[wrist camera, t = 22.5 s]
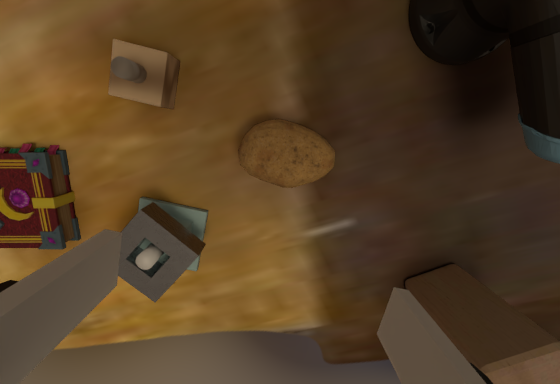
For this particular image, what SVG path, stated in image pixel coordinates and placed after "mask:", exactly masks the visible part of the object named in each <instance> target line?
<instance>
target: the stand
mask: <svg viewBox="0 0 560 384" xmlns="http://www.w3.org/2000/svg"><path fill="white" fill-rule="evenodd" d="M179 67H180V61H179V60H177V59H176V58H174V57H173V56H172V55H170V54H169V53H167V52H163V51H159V50H155V49H151V48H148V47H144V46H140V45H136V44H132V43H128V42H124V41H120V40H116V39H113V46H112V58H111V70H110V81H109V93H108V94H109V95H113V96H117V97H121V98H125V99H130V100H134V101H138V102H142V103H146V104H151V105H155V106H159V107H164V108H169V109H174V103H175V96H176V89H177V81H178V74H179Z"/></svg>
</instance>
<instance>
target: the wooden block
mask: <svg viewBox="0 0 560 384" xmlns="http://www.w3.org/2000/svg"><path fill="white" fill-rule="evenodd" d="M405 287H406V290H409V291H410V292H411V294H412V295H413V296H414V297H415V298H416V300H417V301H418V302H419V303H420V304H421V306H422V307H423V308H424V309H425V310H426V312H427V313H428V314H429V315H430V316H431V318H432V319H433V320H434V321H435V322H436V324H437V325H438V326H439V327H440V328H441V330H442V331H443V332H444V333H445V334H446V336H447V337H448V338H449V339H450V340H451V342H452V343H453V344H454V345H455V346H456V348H457V349H458V350H459V351H460V353H461V354H462V355H463V356H464V357H465V359H466V360H467V361H468V362H469V363H472V364H473V365H474V366H476V367H477V368H478V369H479V370H480V371H482V372H483V373H484V374H485V375H486V376H487V377H488V378H489V379H490V380H491V381H492V383H493V384H560V341H558V340H557V339H556V338H554V337H553V336H551V335H550V334H549V333H547V332H546V331H545V330H543V329H542V328H541V327H539V326H538V325H537V324H535V323H534V322H533V321H531V320H530V319H529V318H527V317H526V316H525V315H523V314H522V313H521V312H519V311H518V310H517V309H515V308H514V307H513V306H511V305H510V304H509V303H507V302H506V301H505V300H503V299H502V298H501V297H499V296H498V295H497V294H495V293H494V292H492V291H491V290H490V289H488V288H487V287H486V286H484V285H483V284H482V283H480V282H479V281H478V280H476V279H475V278H474V277H472V276H471V275H470V274H468V273H467V272H466V271H464V270H463V269H462V268H460V267H459V266H458V265H455V264H450V265H447V266H444V267H441V268H438V269H435V270H432V271H429V272H427V273H424V274H421V275H418V276H415V277H412V278H409V279H407V280H406V281H405Z"/></svg>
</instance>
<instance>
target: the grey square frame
mask: <svg viewBox="0 0 560 384" xmlns="http://www.w3.org/2000/svg"><path fill="white" fill-rule="evenodd" d="M121 233H122V240H121V249H120V258H119V268H118V276H119V277H121V278H122V279H124V280H125V281H126V282H128V283H129V284H130V285H132V286H133V287H135V288H136V289H137V290H139V291H140V292H141V293H143V294H144V295H146V296H147V297H148V298H150V299H151V300H152V301H154V302H156V301H157V300H158V299H159V298H160V297H161V296H162V295H163V294H164V293H165V292H166V290H167V289H168V288H169V287H170V286H171V285H172V284H173V283H174V282H175V281H176V280H177V279H178V278H179V277H180V276H181V274H182V273H183V272H184V271H185V270H186V269H187V268H188V267H189V266H190V265H191V264H192V263H193V262H194V261H195V260H196V259H197V257H198V256H199V255H200V253H201V252H202V250H203V248H204V246H205V245H206V244H205V243H204V242H203V241H201V240H200V239H199V238H198V237H196V236H195V235H194V234H193V233H191V232H190V231H189V230H188V229H187V228H185V227H184V226H183V225H182V224H180V223H179V222H178V221H177V220H175V219H174V218H173V217H172V216H170V215H169V214H168V213H167V212H165V211H164V210H163V209H162V208H160V207H159V206H158V205H157V204H156V203H154V202H152V203H150V204H149V205H147V206H146V207H144V208H142V209H141V210H140V211H139V212H138V213H137V214H136V215H135V217H134V218H133V219H132V220H131V221H130V222H129V224H128V225H127V226H126V227H125V228H124V229H123V231H122V232H121ZM146 239H148V240H149V241H150V242H152V243H153V244H154V245H155V246H157V247H158V248H159V249H161V250H162V251H163V252H165V253H166V254H167V255H168V256H170V257H169V258H168V259H167V260H166V261H165V262H164V263H163V264H161V263H160V262H159V261H157V262H156V263H155V264H154V265H153V266H152V267H151V268H150V269H147V270H144V269H141V268H139V267H138V266H137V264H136V257H137V256H138V255H139V254H140V253H141V252H142V251H143V249H142V248H140V246H141V244H142V243H143V242H144V241H145V240H146Z"/></svg>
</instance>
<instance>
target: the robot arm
mask: <svg viewBox="0 0 560 384" xmlns="http://www.w3.org/2000/svg"><path fill="white" fill-rule="evenodd" d="M409 22H410V28H411V32H412V35H413V37H414V39H415V41H416V43H417V45H418V46H419V48H420V49H421V50H422V51H423V52H424V53H425V54H426V55H427V56H428V57H430V58H431V59H433V60H435V61H437V62H440V63H443V64H450V65H457V64H463V63H467V62H470V61H473V60H476V59H479V58H481V57H483V56H485V55H487V54H489V53H491V52H492V51H494V50H495V49H497V48H498V47H499V46H500V45H501V44H502V43H503V42H505V40H506V39H508V38H510V45H511V54H512V62H513V69H514V76H515V83H516V90H517V98H518V105H519V112H520V113H519V114H518V120H519V123H520V124H521V126H522V129H523V134H524V139H525V143H526V145H527V147H528V149H529V150H531V151H532V152H533V153H534V154H535V155H537V156H538V157H541V158H543V159H545V160H548V161H552V162H555V163H560V0H411V1H410V7H409ZM121 240H122V233H121V232H116V231H111V230H106V229H105V230H103V231H101V232H100V233H98V234H96V235H95V236H93V237H91V238H90V239H88V240H87V241H85V242H83V243H82V244H80V245H78V246H77V247H75V248H73V249H72V250H70V251H68V252H67V253H65V254H63V255H62V256H60V257H58V258H57V259H55V260H53V261H52V262H50V263H48V264H47V265H45V266H43V267H42V268H40V269H38V270H37V271H35V272H33V273H32V274H30V275H29V276H27V277H25V278H24V279H22V280H20V281H13V280H9V281H6V282H3V283H0V384H19V383H20V382H21V381H22V380H23V379H24V378H25V377H26V376H27V375H28V374H29V373H30V372H31V371H32V370H33V369H34V368H35V367H36V366H37V365H38V364H39V363H40V362H41V361H42V360H43V359H44V358H45V357H46V356H47V355H48V354H49V353H50V352H51V351H52V350H53V349H54V348H55V347H56V346H57V345H58V344H59V343H60V342H61V341H62V340H63V339H64V338H65V337H66V336H67V335H68V334H69V333H70V332H71V331H72V330H73V329H74V328H75V327H76V326H77V325H78V324H79V323H80V322H81V321H82V320H83V319H84V318H85V317H86V316H87V315H88V314H89V313H90V312H91V311H92V310H93V309H94V308H95V307H96V306H97V305H98V304H99V303H100V302H101V301H102V300H103V299H104V298H105V297H106V296H107V295H108V294H109V293H110V292H111V291H112V290H113V289H114V288H115V287H116V286H117V277H118V268H119V258H120V249H121ZM377 335H378V337H379V339H380V341H381V343H382V345H383V347H384V349H385V351H386V353H387V355H388V357H389V359H390V361H391V363H392V365H393V367H394V369H395V371H396V373H397V375H398V377H399V379H400V381H401V383H402V384H493V383H492V381H491V380H490V379H489V378H488V377H487V376H486V375H485V374H484V373H483V372H482V371H480V370H479V369H478V368H477V367H476V366H474V365H473V364H472V363H469V362H468V361H467V360H466V359H465V357H464V356H463V355H462V354H461V353H460V351H459V350H458V349H457V348H456V346H455V345H454V344H453V343H452V342H451V340H450V339H449V338H448V337H447V336H446V334H445V333H444V332H443V331H442V330H441V328H440V327H439V326H438V325H437V324H436V322H435V321H434V320H433V319H432V318H431V316H430V315H429V314H428V313H427V312H426V310H425V309H424V308H423V307H422V306H421V304H420V303H419V302H418V301H417V300H416V298H415V297H414V296H413V295H412V294H411V292H410V291H409V290H405V289H400V288H395V287H394V289H393V291H392V294H391V297H390V300H389V302H388V305H387V308H386V311H385V313H384V316H383V319H382V321H381V324H380V327H379V330H378V332H377Z"/></svg>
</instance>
